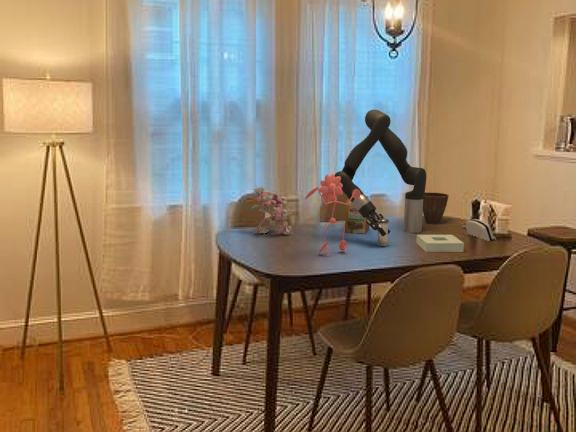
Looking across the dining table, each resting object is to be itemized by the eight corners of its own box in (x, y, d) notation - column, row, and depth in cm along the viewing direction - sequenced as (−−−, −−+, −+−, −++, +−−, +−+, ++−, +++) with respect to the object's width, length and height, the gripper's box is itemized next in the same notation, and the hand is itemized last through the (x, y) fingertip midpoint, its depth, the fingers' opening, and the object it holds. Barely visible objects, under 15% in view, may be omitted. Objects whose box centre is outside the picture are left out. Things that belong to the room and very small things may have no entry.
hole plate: (416, 242, 281) (416, 234, 280) (451, 242, 282) (452, 234, 281) (425, 251, 264) (426, 243, 263) (463, 251, 265) (464, 243, 264)
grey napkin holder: (496, 240, 288) (492, 221, 285) (488, 244, 287) (484, 225, 284) (475, 233, 303) (471, 215, 301) (467, 236, 302) (463, 219, 300)
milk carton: (344, 233, 301) (345, 196, 297) (349, 229, 310) (350, 193, 307) (365, 234, 297) (366, 197, 294) (369, 230, 307) (370, 194, 304)
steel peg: (376, 243, 276) (377, 218, 274) (386, 243, 276) (387, 218, 274) (378, 246, 271) (379, 220, 269) (388, 246, 272) (389, 220, 269)
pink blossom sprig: (363, 252, 261) (364, 173, 255) (312, 259, 249) (313, 177, 243) (344, 246, 275) (345, 171, 269) (295, 252, 263) (295, 173, 257)
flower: (262, 239, 278) (284, 191, 279) (234, 226, 294) (254, 181, 295) (290, 251, 292) (310, 204, 293) (262, 238, 308) (281, 194, 309)
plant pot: (441, 220, 336) (443, 192, 333) (450, 225, 322) (452, 196, 318) (416, 220, 335) (417, 192, 332) (423, 225, 321) (425, 196, 317)
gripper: (362, 202, 268) (386, 232, 264) (375, 198, 280) (398, 226, 276) (351, 213, 272) (374, 242, 268) (365, 208, 284) (387, 236, 280)
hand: (386, 234), depth 272 cm, fingers closed on steel peg, 4 cm apart
